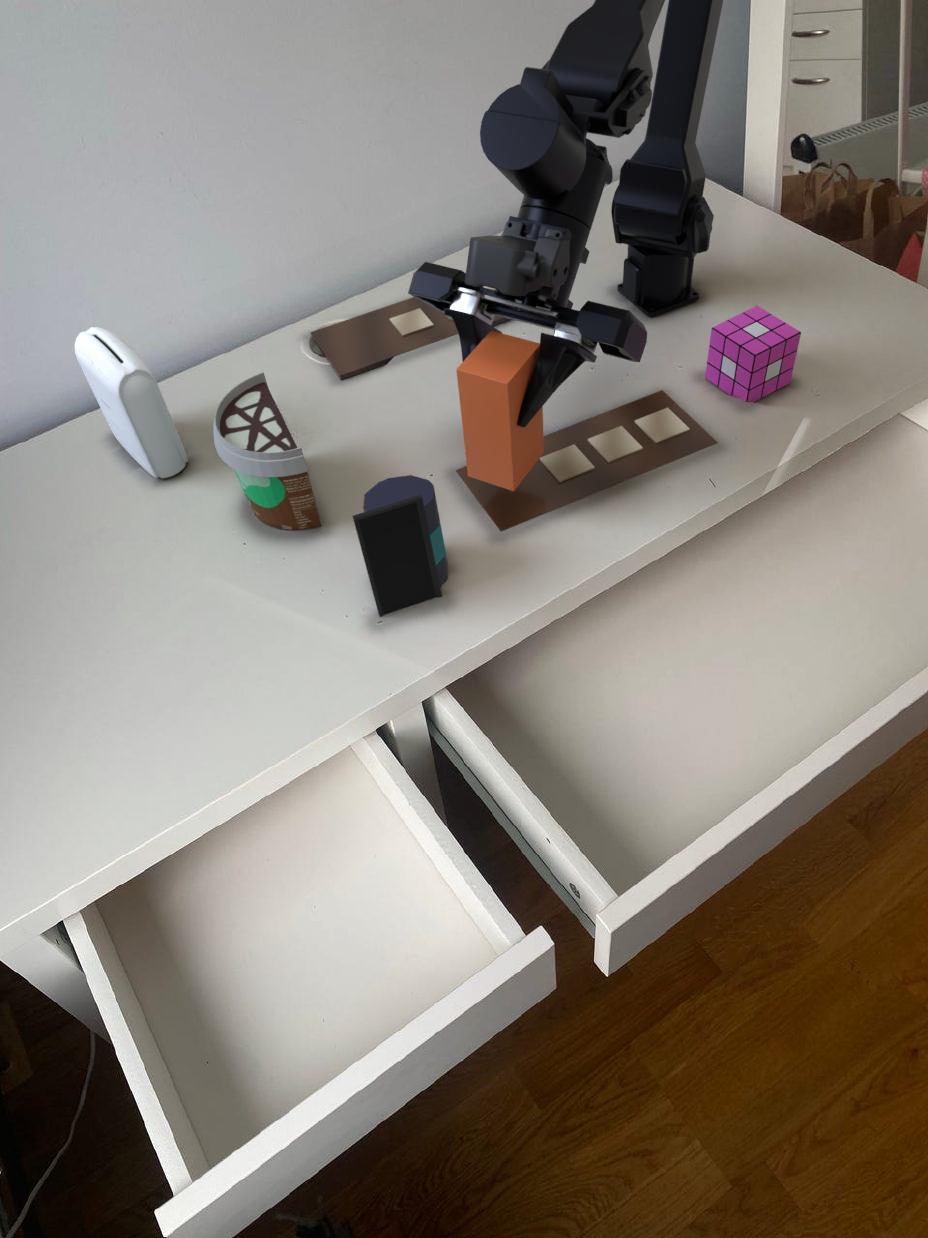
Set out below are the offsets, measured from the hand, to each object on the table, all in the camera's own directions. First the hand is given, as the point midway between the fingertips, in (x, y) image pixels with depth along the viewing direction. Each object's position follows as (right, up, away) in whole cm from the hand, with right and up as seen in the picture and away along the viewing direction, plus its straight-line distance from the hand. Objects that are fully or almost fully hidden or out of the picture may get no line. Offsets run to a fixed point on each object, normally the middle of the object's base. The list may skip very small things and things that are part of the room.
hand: (493, 418), depth 76 cm
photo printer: (-33, 0, +16) cm, 36 cm away
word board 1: (-6, +16, +26) cm, 31 cm away
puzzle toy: (+25, +7, +15) cm, 30 cm away
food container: (-19, -6, +9) cm, 22 cm away
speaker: (-7, -13, +2) cm, 15 cm away
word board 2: (+9, -2, +10) cm, 13 cm away
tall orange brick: (+1, -3, +5) cm, 6 cm away
